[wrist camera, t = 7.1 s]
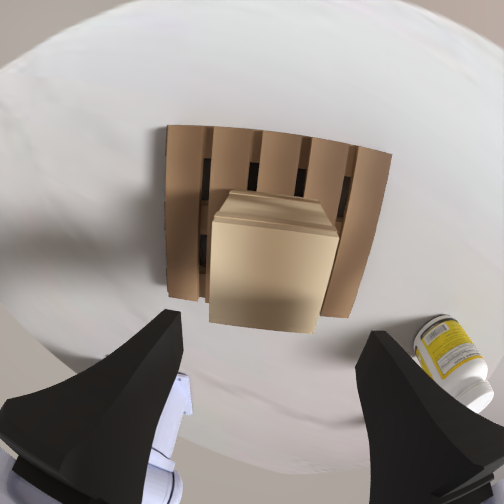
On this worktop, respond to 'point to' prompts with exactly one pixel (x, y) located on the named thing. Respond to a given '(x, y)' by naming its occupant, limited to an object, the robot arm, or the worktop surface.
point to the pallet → (270, 181)
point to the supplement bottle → (454, 362)
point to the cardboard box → (270, 261)
